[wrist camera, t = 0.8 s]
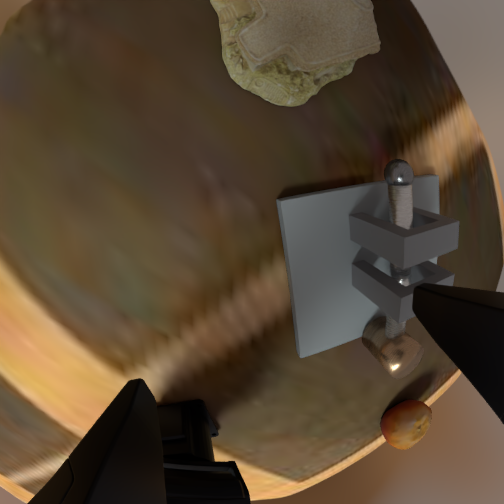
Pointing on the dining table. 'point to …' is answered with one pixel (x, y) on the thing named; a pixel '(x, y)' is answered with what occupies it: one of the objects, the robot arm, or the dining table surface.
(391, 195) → the metal knob rod
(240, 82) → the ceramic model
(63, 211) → the dining table surface
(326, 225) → the barrel bolt latch
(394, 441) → the fruit
